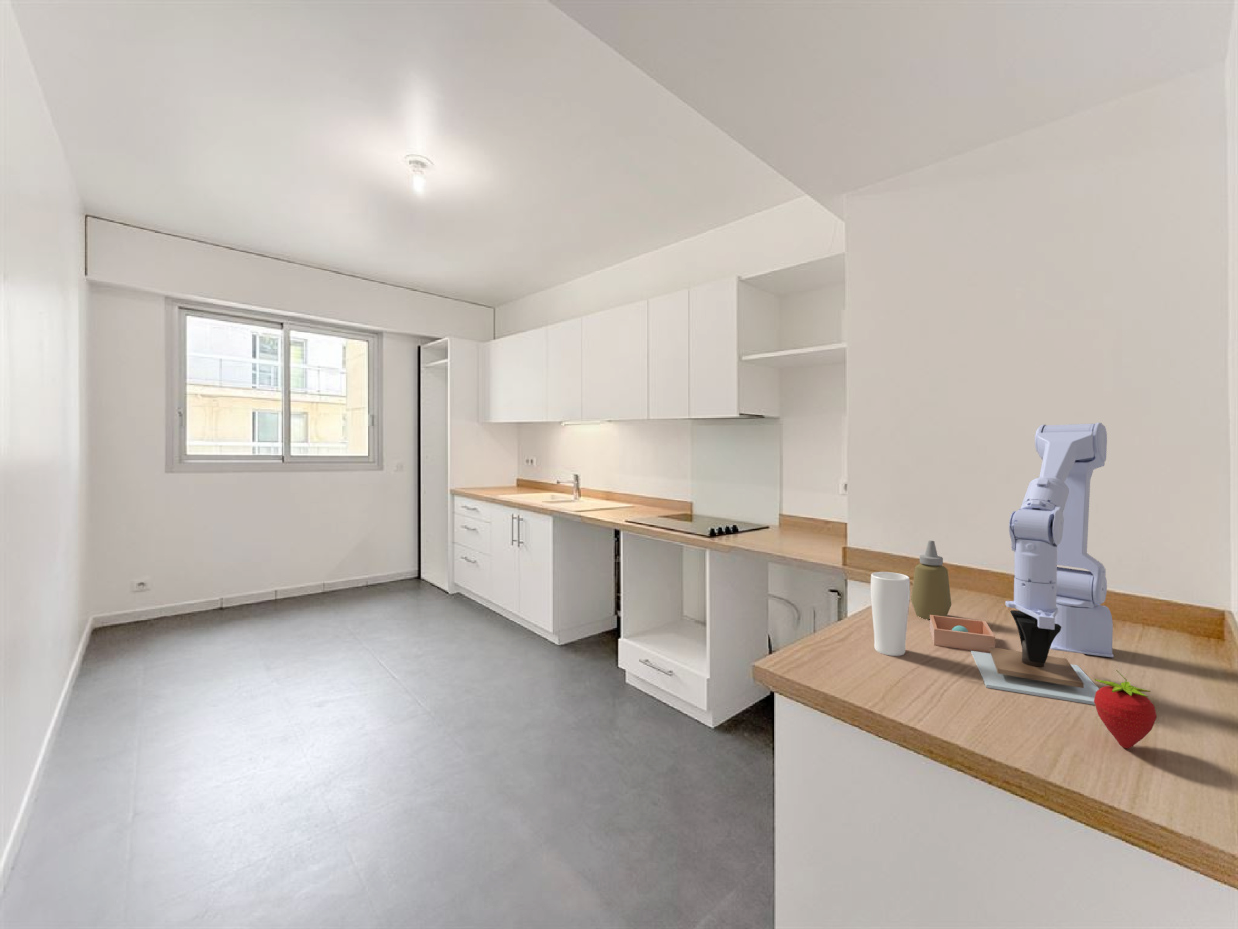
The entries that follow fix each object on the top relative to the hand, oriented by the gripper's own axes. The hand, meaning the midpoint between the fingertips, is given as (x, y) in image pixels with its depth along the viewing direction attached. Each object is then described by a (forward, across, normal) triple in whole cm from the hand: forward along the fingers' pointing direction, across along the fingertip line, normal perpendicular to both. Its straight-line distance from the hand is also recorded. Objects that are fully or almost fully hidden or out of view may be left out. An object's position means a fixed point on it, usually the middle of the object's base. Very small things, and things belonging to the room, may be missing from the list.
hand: (1033, 658), depth 90 cm
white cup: (+4, -2, -22) cm, 22 cm away
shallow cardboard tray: (+3, -14, -9) cm, 17 cm away
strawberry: (+4, +21, +5) cm, 22 cm away
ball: (+3, -14, -9) cm, 17 cm away
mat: (+3, 0, 0) cm, 3 cm away
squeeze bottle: (+4, -29, -13) cm, 32 cm away
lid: (+2, 0, 0) cm, 2 cm away
